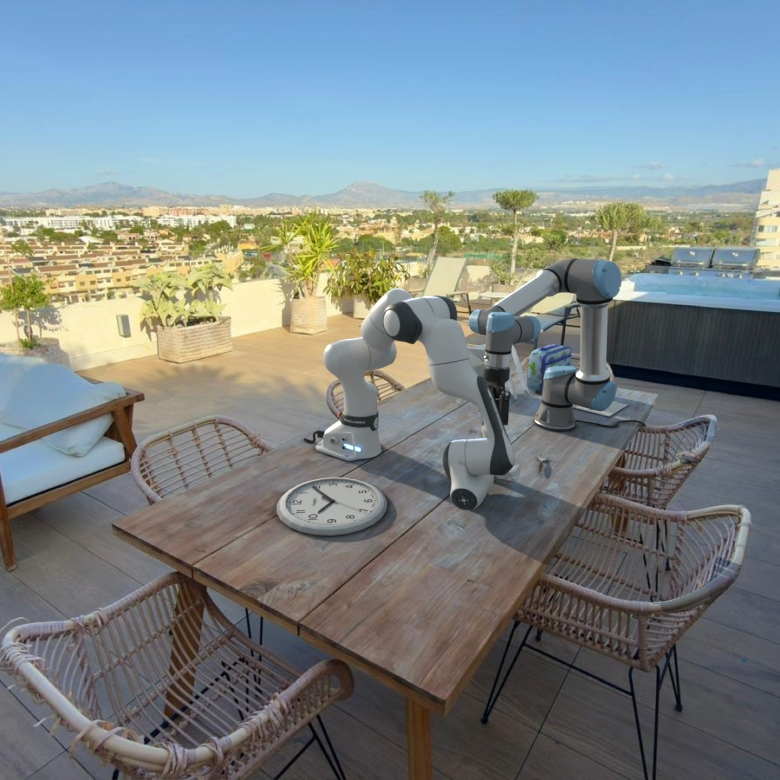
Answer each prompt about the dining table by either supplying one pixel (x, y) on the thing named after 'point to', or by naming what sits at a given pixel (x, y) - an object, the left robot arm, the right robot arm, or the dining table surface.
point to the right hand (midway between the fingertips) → (491, 440)
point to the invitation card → (609, 411)
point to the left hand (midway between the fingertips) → (490, 456)
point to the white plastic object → (478, 365)
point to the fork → (542, 460)
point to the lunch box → (545, 363)
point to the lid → (484, 430)
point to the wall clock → (331, 506)
